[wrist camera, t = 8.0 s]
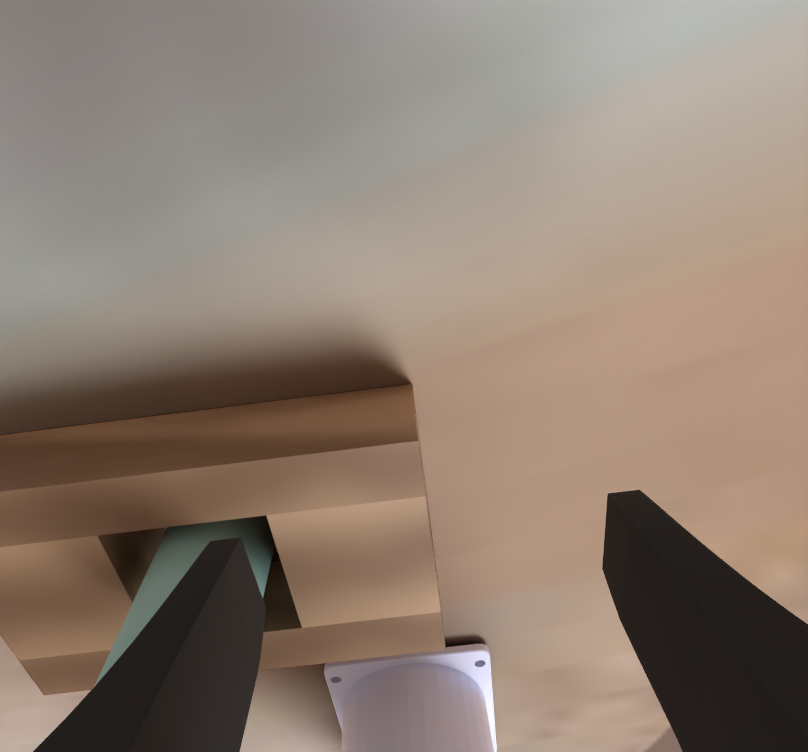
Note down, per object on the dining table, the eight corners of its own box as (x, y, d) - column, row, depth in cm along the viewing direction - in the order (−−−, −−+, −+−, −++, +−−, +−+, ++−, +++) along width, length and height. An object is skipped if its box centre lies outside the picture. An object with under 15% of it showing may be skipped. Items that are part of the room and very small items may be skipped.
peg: (289, 543, 24) (251, 744, 17) (196, 554, 24) (118, 758, 17) (267, 468, 22) (214, 660, 15) (165, 480, 22) (64, 676, 15)
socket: (437, 577, 25) (445, 649, 22) (84, 618, 25) (44, 695, 22) (412, 383, 20) (418, 440, 17) (-24, 438, 20) (-95, 503, 17)
